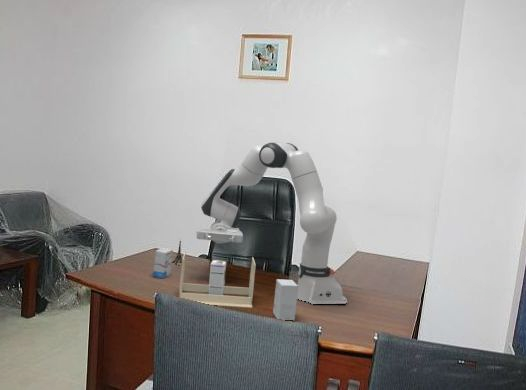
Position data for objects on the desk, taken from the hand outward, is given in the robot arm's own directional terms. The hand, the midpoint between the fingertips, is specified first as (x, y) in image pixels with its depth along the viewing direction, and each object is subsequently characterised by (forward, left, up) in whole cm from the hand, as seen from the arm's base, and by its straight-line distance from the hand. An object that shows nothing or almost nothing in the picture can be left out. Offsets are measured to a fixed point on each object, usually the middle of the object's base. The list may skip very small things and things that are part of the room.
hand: (220, 239), depth 199 cm
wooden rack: (0, +15, -21) cm, 25 cm away
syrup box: (0, +15, -21) cm, 26 cm away
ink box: (+24, -11, -21) cm, 34 cm away
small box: (-25, +32, -21) cm, 46 cm away
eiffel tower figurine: (+19, -34, -21) cm, 45 cm away
